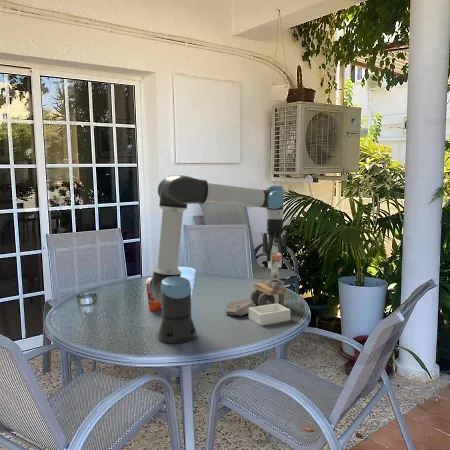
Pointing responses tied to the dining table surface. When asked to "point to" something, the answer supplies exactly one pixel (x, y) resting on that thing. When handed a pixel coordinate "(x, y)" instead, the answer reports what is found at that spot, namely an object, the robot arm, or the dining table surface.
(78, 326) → the dining table surface
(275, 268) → the pin
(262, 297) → the trolley
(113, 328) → the dining table surface
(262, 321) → the tray
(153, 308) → the coffee cup
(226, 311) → the stone
